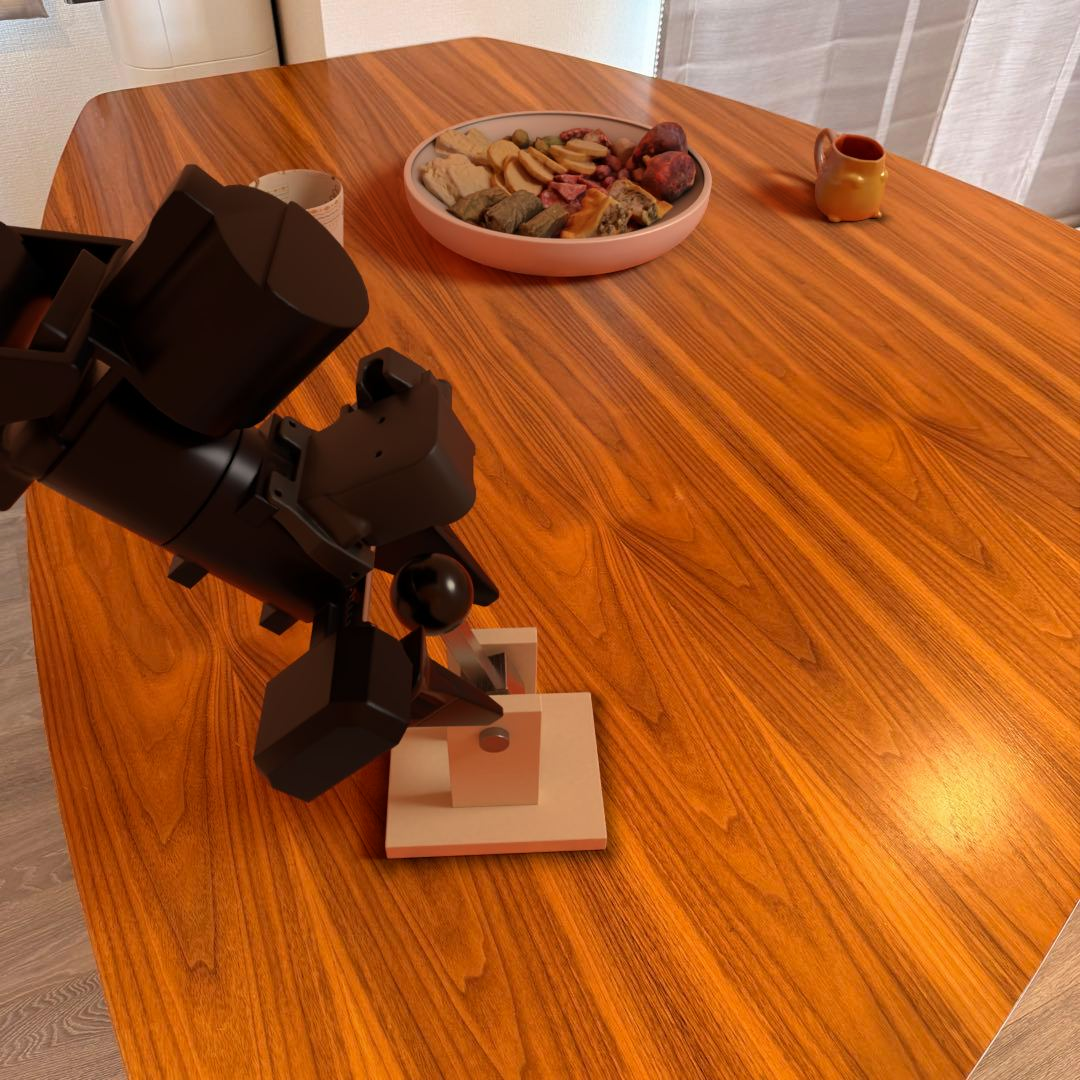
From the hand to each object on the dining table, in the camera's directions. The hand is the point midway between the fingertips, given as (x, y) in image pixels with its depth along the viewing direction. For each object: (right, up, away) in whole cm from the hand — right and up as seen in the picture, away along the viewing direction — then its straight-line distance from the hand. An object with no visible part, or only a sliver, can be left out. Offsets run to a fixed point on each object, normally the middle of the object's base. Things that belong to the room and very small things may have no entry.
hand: (495, 655), depth 45 cm
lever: (-3, 0, 0) cm, 3 cm away
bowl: (+4, +38, +54) cm, 66 cm away
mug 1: (-20, +27, +42) cm, 54 cm away
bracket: (0, -7, +7) cm, 10 cm away
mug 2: (+33, +41, +58) cm, 79 cm away
